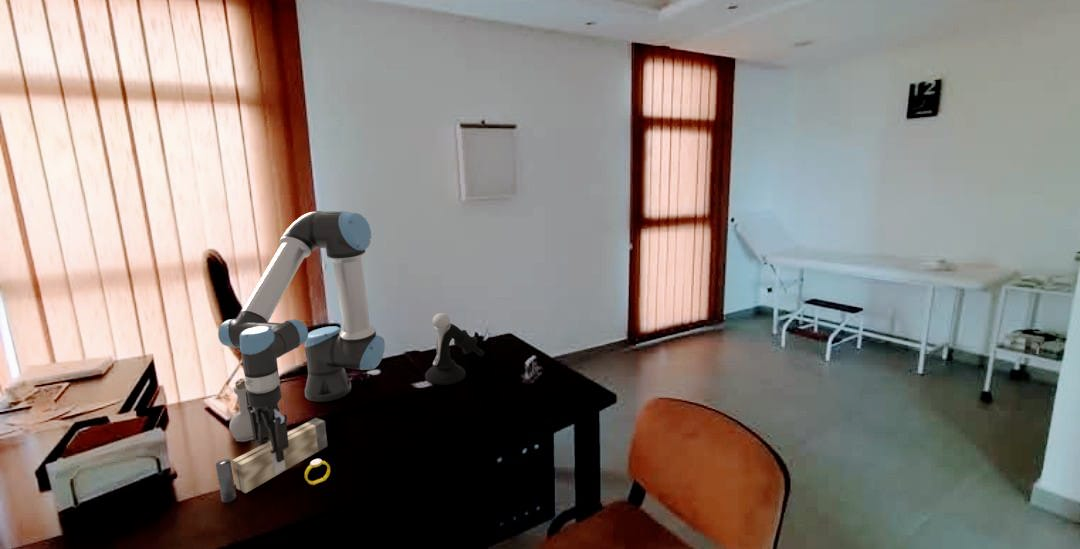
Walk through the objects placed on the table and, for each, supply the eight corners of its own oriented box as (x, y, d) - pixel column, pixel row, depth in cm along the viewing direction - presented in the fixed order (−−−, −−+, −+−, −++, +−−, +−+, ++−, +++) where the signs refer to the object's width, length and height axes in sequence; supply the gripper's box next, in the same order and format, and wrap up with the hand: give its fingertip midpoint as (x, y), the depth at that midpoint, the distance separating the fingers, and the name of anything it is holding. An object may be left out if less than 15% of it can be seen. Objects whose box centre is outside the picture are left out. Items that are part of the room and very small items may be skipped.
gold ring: (308, 489, 129) (304, 469, 128) (305, 484, 131) (301, 464, 130) (332, 478, 133) (328, 459, 131) (329, 473, 135) (325, 454, 133)
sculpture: (419, 372, 197) (416, 310, 191) (476, 360, 208) (475, 301, 202) (432, 388, 184) (429, 322, 178) (492, 374, 195) (491, 312, 189)
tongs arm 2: (245, 493, 127) (241, 465, 125) (241, 491, 128) (237, 462, 126) (327, 446, 147) (324, 421, 145) (323, 444, 148) (320, 419, 146)
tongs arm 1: (240, 490, 128) (235, 462, 126) (236, 488, 129) (231, 460, 127) (322, 444, 148) (320, 419, 146) (318, 442, 149) (316, 417, 147)
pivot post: (226, 504, 124) (220, 467, 121) (219, 500, 125) (213, 464, 123) (238, 497, 126) (232, 461, 124) (231, 493, 128) (225, 457, 125)
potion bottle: (270, 430, 156) (263, 376, 152) (245, 446, 148) (237, 389, 143) (249, 425, 159) (241, 372, 154) (223, 440, 150) (214, 384, 146)
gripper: (229, 385, 131) (241, 466, 136) (269, 401, 123) (281, 486, 128) (257, 374, 137) (268, 452, 143) (297, 389, 129) (307, 470, 134)
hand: (274, 468), depth 135 cm, fingers open, 4 cm apart
